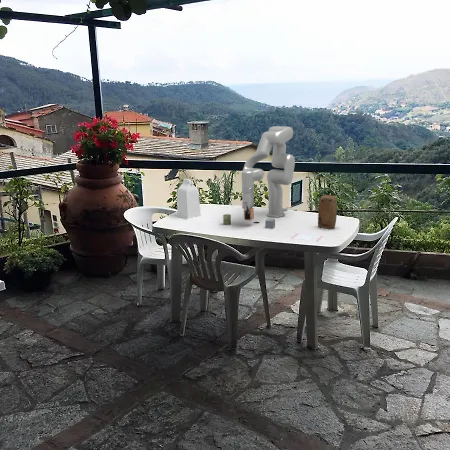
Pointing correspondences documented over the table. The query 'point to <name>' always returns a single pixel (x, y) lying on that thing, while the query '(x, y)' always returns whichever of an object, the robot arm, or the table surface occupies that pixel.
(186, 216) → the milk
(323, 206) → the block
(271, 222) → the grey cube
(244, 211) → the terracotta block
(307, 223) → the table surface
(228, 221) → the olive cylinder
